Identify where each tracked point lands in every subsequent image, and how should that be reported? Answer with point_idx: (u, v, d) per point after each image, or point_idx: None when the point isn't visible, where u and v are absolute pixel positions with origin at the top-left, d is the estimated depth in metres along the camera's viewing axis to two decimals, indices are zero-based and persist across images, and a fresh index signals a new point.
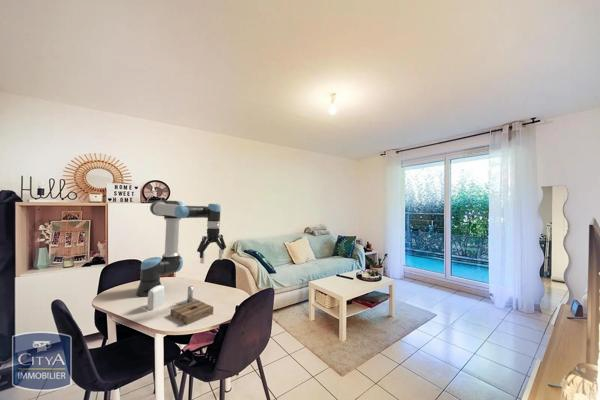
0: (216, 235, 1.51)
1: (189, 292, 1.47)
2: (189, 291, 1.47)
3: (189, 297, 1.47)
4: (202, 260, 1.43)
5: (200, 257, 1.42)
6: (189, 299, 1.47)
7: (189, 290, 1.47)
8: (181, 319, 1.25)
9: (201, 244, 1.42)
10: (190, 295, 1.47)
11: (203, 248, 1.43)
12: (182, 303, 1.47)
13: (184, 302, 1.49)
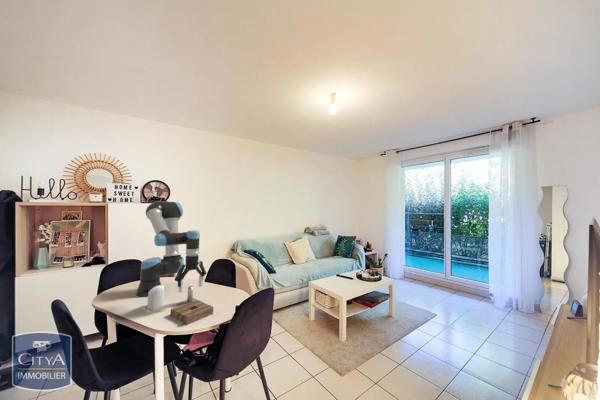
0: (195, 262, 1.50)
1: (189, 292, 1.47)
2: (189, 291, 1.47)
3: (189, 297, 1.47)
4: (180, 289, 1.42)
5: (178, 286, 1.41)
6: (189, 299, 1.47)
7: (189, 290, 1.47)
8: (181, 319, 1.25)
9: (179, 273, 1.41)
10: (190, 295, 1.47)
11: (181, 277, 1.42)
12: (182, 303, 1.47)
13: (184, 302, 1.49)
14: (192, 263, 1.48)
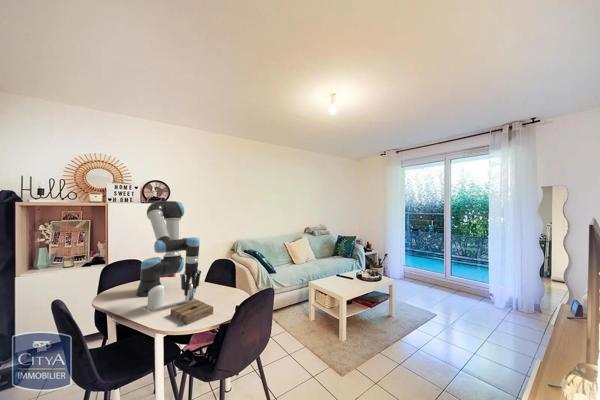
0: (195, 269, 1.50)
1: (189, 289, 1.47)
2: (189, 288, 1.47)
3: (189, 294, 1.47)
4: (187, 297, 1.46)
5: (185, 295, 1.46)
6: (189, 296, 1.47)
7: (189, 287, 1.47)
8: (181, 319, 1.25)
9: (182, 283, 1.44)
10: (190, 292, 1.47)
11: (186, 286, 1.46)
12: (182, 303, 1.47)
13: (184, 302, 1.49)
14: (191, 270, 1.48)
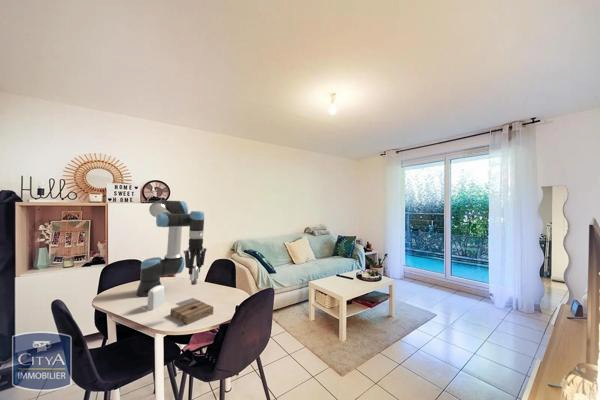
0: (199, 246, 1.36)
1: None
2: None
3: None
4: (191, 277, 1.32)
5: (189, 273, 1.32)
6: None
7: None
8: (181, 319, 1.25)
9: (186, 260, 1.30)
10: (194, 275, 1.33)
11: (190, 264, 1.32)
12: (182, 303, 1.47)
13: (184, 302, 1.49)
14: (196, 247, 1.34)
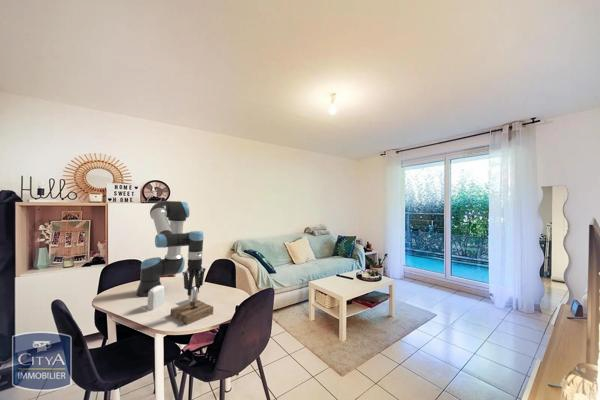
0: (198, 266, 1.35)
1: None
2: None
3: None
4: (190, 298, 1.32)
5: (188, 295, 1.31)
6: (192, 300, 1.32)
7: None
8: (181, 319, 1.25)
9: (185, 281, 1.29)
10: (193, 296, 1.32)
11: (189, 285, 1.31)
12: (182, 303, 1.47)
13: (184, 302, 1.49)
14: (195, 267, 1.33)
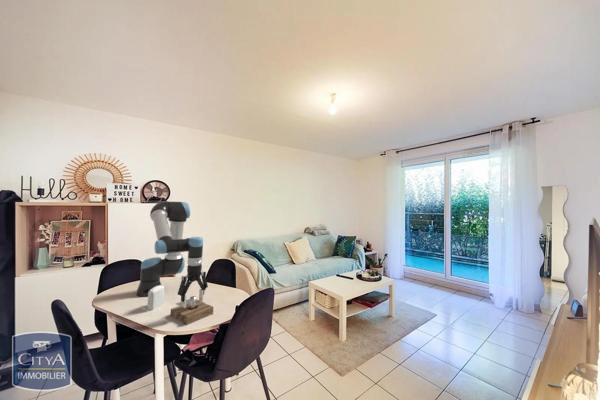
0: (198, 272, 1.35)
1: (191, 303, 1.32)
2: (191, 302, 1.32)
3: (191, 308, 1.32)
4: (184, 304, 1.29)
5: None
6: None
7: (191, 301, 1.32)
8: (181, 319, 1.25)
9: (181, 286, 1.27)
10: (193, 306, 1.32)
11: (184, 290, 1.29)
12: None
13: None
14: (194, 273, 1.33)
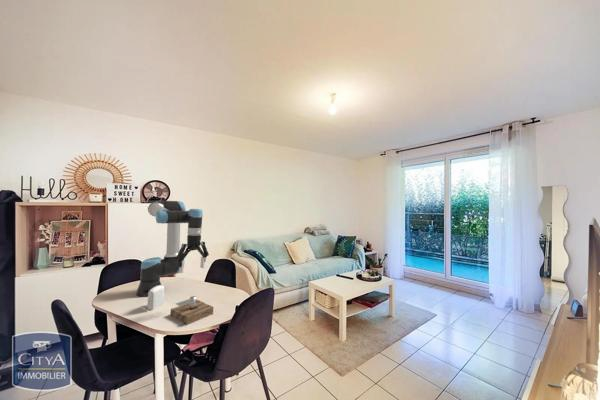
0: (197, 242, 1.42)
1: (191, 303, 1.32)
2: (191, 302, 1.32)
3: (191, 308, 1.32)
4: (181, 269, 1.34)
5: (179, 266, 1.34)
6: None
7: (191, 301, 1.32)
8: (181, 319, 1.25)
9: (180, 252, 1.33)
10: (192, 306, 1.32)
11: (182, 256, 1.35)
12: (182, 303, 1.47)
13: (184, 302, 1.49)
14: (194, 243, 1.40)
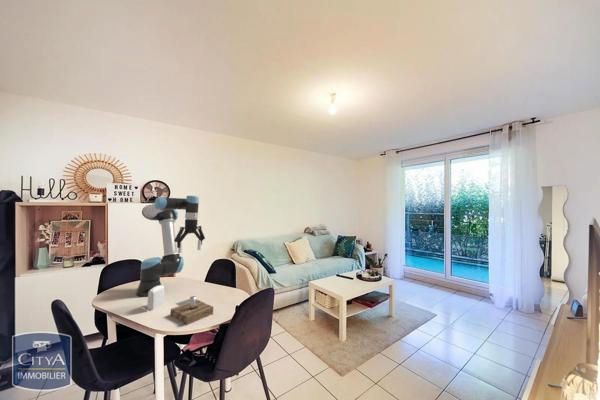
0: (194, 226, 1.55)
1: (191, 303, 1.32)
2: (191, 302, 1.32)
3: (191, 308, 1.32)
4: (179, 250, 1.48)
5: (177, 247, 1.47)
6: None
7: (191, 301, 1.32)
8: (181, 319, 1.25)
9: (178, 234, 1.47)
10: (193, 306, 1.32)
11: (180, 238, 1.48)
12: (182, 303, 1.47)
13: (184, 302, 1.49)
14: (191, 226, 1.54)
